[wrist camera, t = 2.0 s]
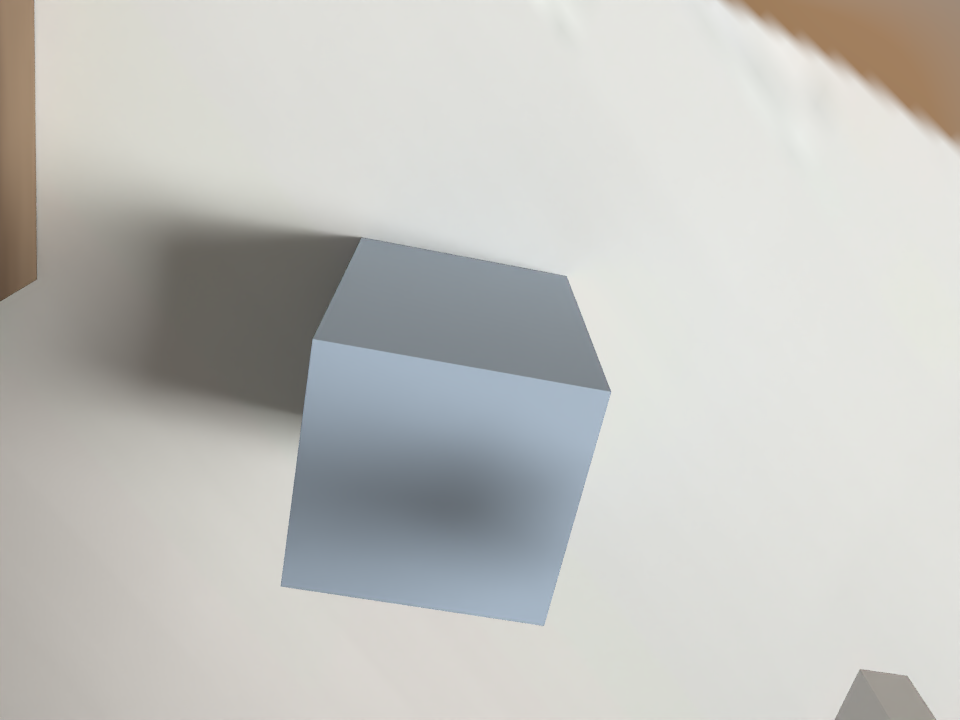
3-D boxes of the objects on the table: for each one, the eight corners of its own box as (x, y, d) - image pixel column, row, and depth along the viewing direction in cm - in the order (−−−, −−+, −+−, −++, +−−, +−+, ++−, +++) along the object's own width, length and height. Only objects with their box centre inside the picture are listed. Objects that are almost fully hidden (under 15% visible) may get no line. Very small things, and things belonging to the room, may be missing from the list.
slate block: (566, 275, 24) (610, 391, 16) (522, 453, 26) (543, 625, 19) (361, 237, 23) (312, 338, 16) (334, 422, 25) (280, 586, 18)
